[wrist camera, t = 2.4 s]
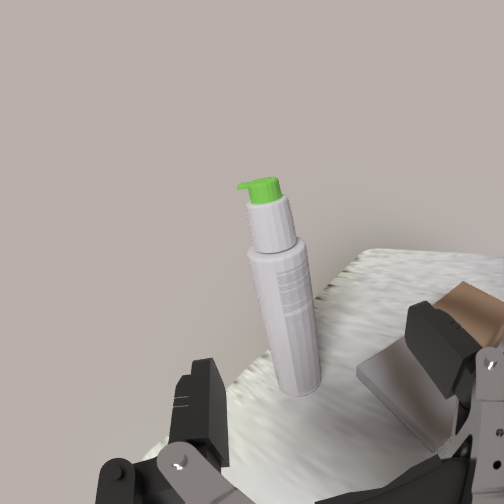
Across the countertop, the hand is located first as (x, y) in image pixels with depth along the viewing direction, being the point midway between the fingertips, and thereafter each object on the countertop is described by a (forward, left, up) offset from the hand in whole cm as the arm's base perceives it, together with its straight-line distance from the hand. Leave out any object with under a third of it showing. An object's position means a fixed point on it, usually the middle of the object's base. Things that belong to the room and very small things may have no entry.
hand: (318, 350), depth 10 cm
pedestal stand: (-18, -2, -15) cm, 24 cm away
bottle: (-3, -11, -15) cm, 19 cm away
